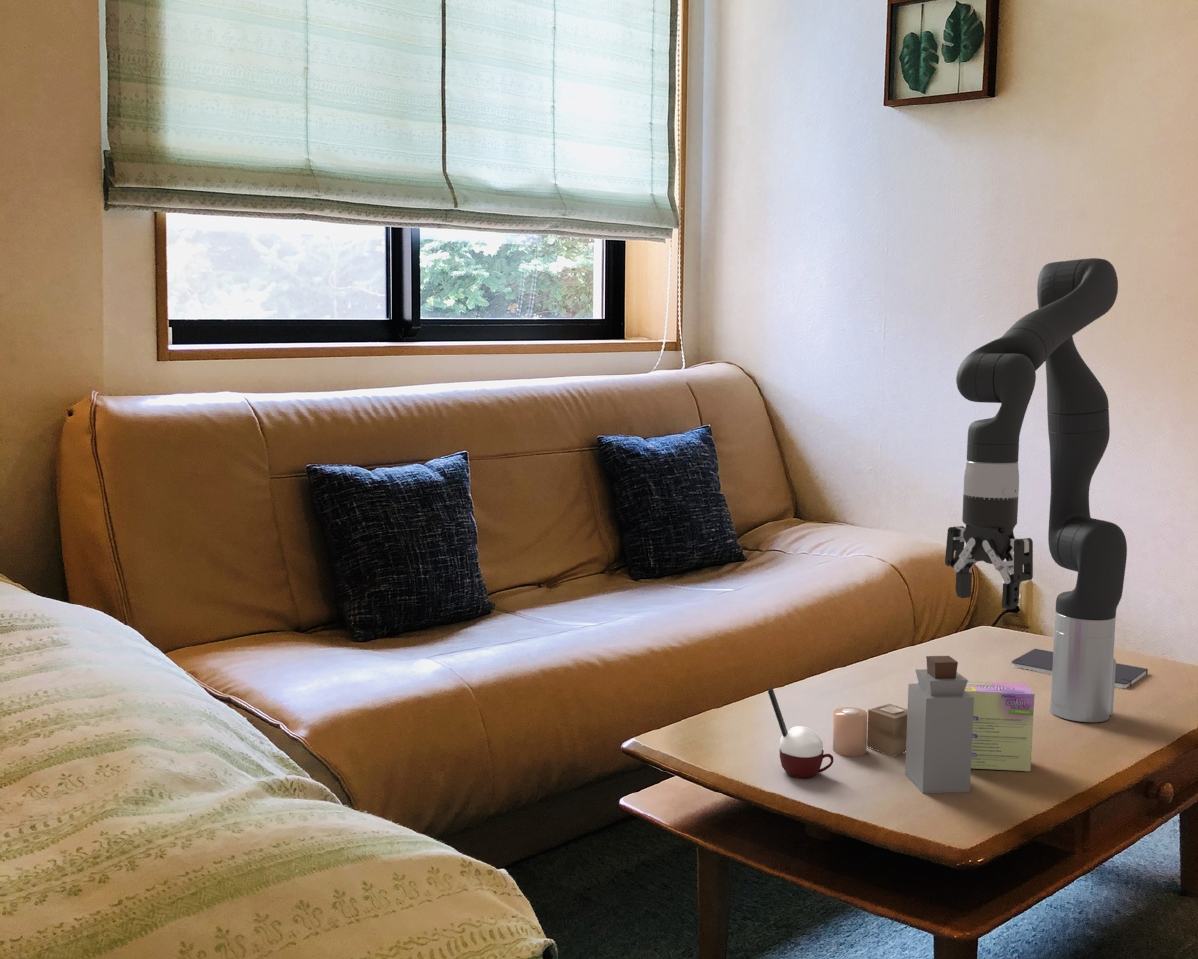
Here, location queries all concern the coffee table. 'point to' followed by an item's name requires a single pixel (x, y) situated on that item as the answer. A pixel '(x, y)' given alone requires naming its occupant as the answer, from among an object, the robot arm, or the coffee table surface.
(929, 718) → the perfume bottle
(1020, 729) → the box
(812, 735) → the cocoa
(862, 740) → the terracotta cylinder
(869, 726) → the walnut block
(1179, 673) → the coffee table surface
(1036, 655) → the notebook
